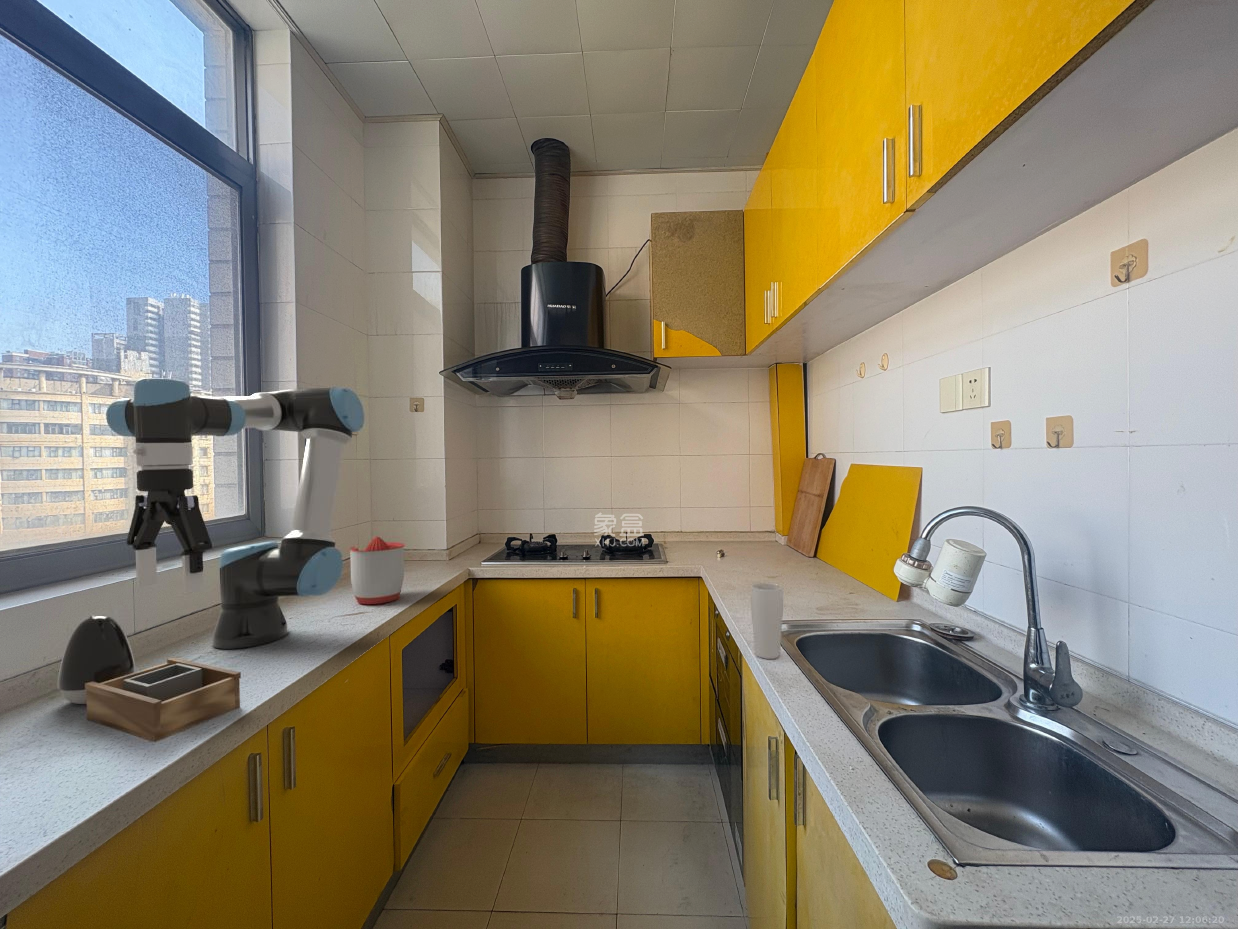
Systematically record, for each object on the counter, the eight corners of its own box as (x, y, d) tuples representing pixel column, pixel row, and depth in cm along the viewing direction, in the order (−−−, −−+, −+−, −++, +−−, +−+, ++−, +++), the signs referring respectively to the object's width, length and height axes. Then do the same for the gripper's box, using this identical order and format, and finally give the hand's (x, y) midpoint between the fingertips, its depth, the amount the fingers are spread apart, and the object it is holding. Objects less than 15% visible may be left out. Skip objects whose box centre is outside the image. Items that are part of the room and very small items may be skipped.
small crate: (178, 696, 96) (178, 663, 96) (202, 702, 94) (201, 668, 94) (123, 715, 89) (123, 680, 89) (148, 723, 86) (147, 686, 86)
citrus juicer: (377, 591, 176) (376, 531, 176) (416, 596, 169) (415, 534, 169) (334, 603, 162) (333, 538, 162) (375, 609, 155) (374, 541, 154)
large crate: (173, 689, 101) (173, 657, 101) (241, 706, 94) (240, 672, 94) (85, 719, 90) (84, 683, 90) (154, 742, 82) (153, 703, 82)
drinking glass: (774, 664, 110) (774, 591, 110) (745, 656, 114) (744, 586, 114) (789, 655, 115) (788, 585, 115) (760, 647, 119) (759, 581, 119)
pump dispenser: (130, 681, 105) (128, 605, 105) (140, 695, 99) (138, 614, 99) (55, 700, 97) (53, 617, 97) (61, 716, 91) (59, 628, 91)
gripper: (98, 468, 94) (103, 587, 95) (184, 468, 85) (189, 600, 85) (149, 467, 101) (153, 577, 102) (233, 467, 92) (238, 589, 92)
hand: (169, 588), depth 93 cm, fingers open, 13 cm apart
